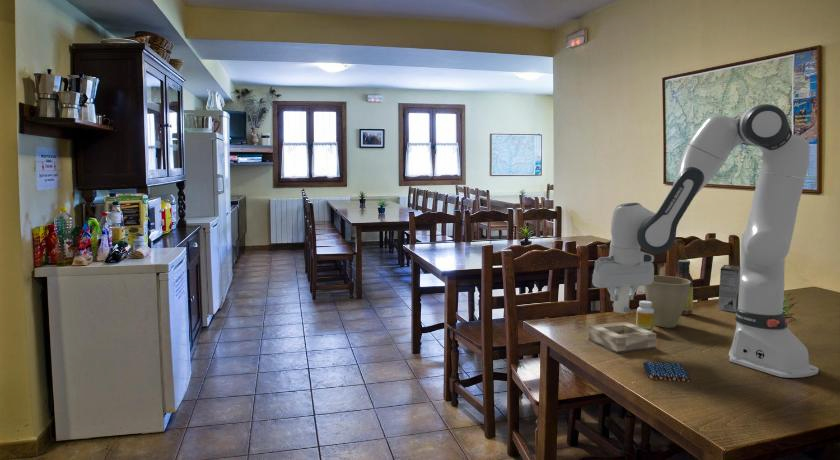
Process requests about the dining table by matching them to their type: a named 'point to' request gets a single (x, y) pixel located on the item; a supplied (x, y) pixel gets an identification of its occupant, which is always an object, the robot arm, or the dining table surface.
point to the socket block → (622, 337)
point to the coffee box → (729, 288)
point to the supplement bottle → (645, 315)
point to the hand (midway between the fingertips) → (621, 300)
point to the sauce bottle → (685, 273)
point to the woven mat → (666, 371)
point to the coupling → (622, 299)
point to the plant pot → (667, 299)
